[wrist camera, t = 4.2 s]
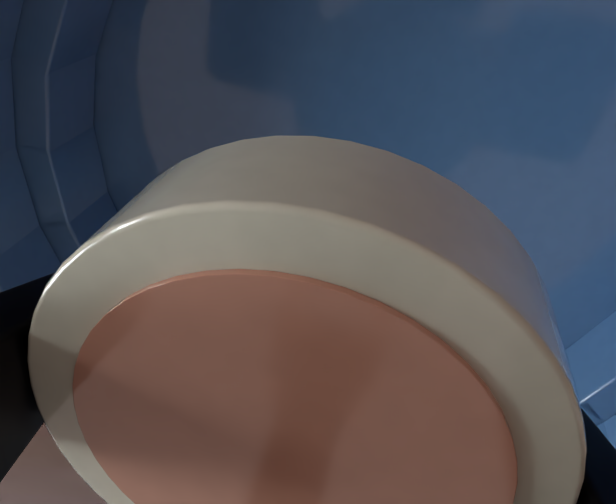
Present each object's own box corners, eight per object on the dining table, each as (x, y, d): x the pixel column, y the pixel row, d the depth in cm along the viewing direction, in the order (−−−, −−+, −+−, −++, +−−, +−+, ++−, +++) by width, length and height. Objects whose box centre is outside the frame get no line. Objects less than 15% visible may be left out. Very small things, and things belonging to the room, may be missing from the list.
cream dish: (378, 512, 11) (362, 659, 9) (76, 343, 10) (-22, 458, 8) (664, 299, 7) (757, 464, 5) (222, 7, 6) (111, 55, 4)
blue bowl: (435, 481, 20) (433, 614, 16) (2, 232, 18) (-116, 317, 14) (1000, 71, 10) (1319, 163, 6) (205, -555, 8) (8, -936, 5)
